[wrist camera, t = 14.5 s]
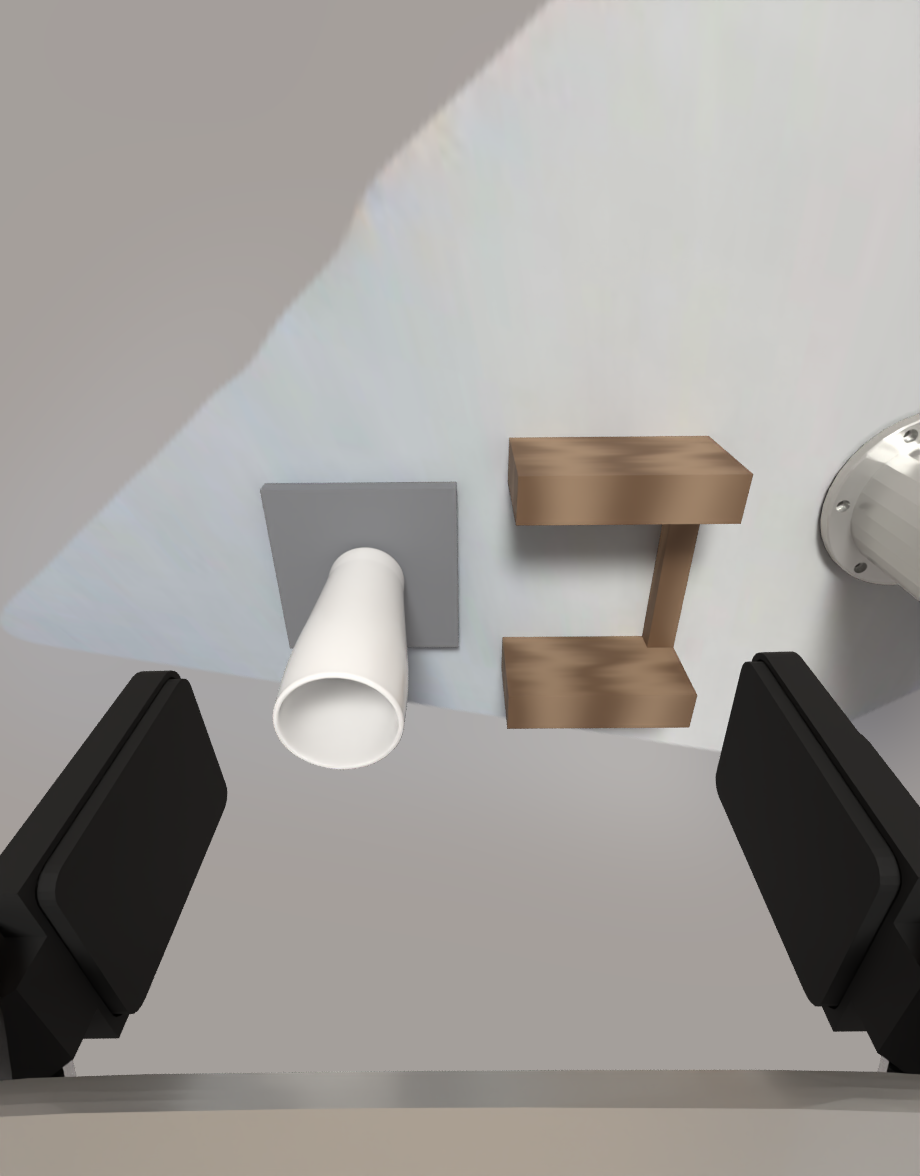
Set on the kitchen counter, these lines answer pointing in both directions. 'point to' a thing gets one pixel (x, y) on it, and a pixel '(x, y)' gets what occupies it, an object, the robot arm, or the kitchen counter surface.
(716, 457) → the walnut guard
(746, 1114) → the robot arm
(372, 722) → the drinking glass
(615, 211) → the kitchen counter surface
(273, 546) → the slate board
